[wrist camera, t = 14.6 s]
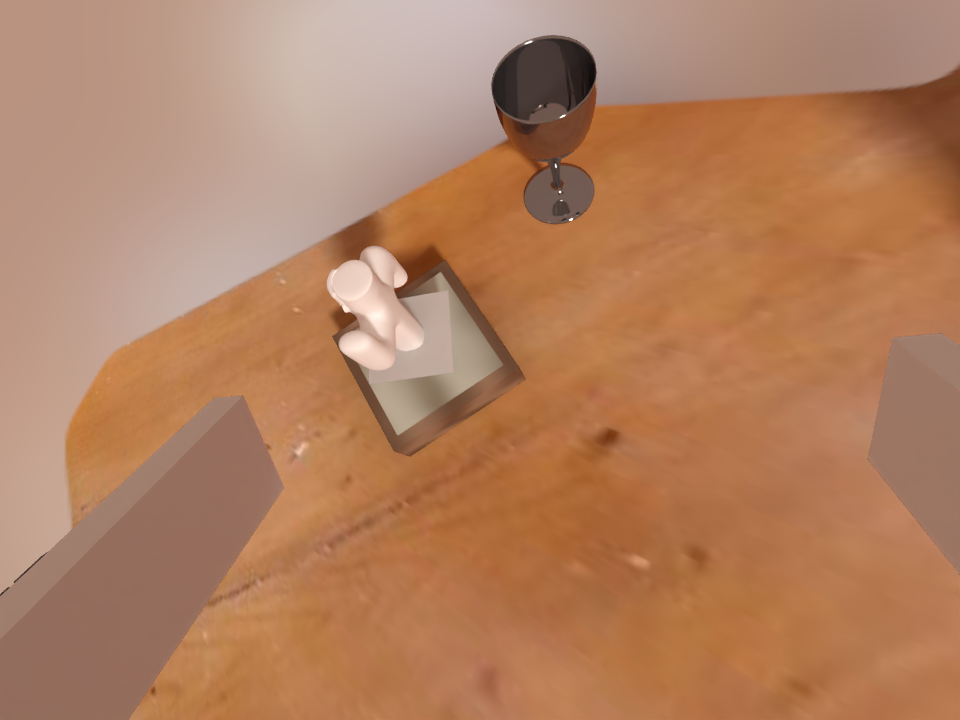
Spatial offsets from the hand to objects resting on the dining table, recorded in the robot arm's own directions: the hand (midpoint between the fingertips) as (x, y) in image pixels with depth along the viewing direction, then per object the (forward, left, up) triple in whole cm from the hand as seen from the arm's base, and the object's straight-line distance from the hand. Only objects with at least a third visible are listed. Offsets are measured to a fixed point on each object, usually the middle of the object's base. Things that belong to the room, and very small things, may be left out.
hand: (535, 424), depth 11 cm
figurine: (+5, -18, -32) cm, 37 cm away
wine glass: (-15, -26, -36) cm, 47 cm away
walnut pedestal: (+5, -18, -36) cm, 40 cm away
